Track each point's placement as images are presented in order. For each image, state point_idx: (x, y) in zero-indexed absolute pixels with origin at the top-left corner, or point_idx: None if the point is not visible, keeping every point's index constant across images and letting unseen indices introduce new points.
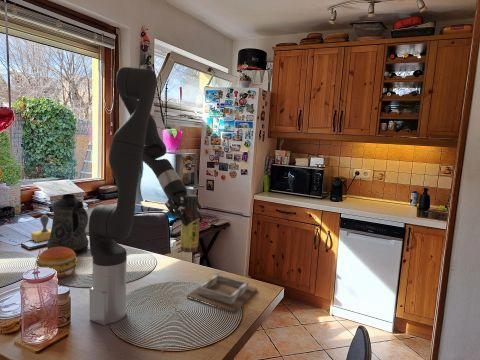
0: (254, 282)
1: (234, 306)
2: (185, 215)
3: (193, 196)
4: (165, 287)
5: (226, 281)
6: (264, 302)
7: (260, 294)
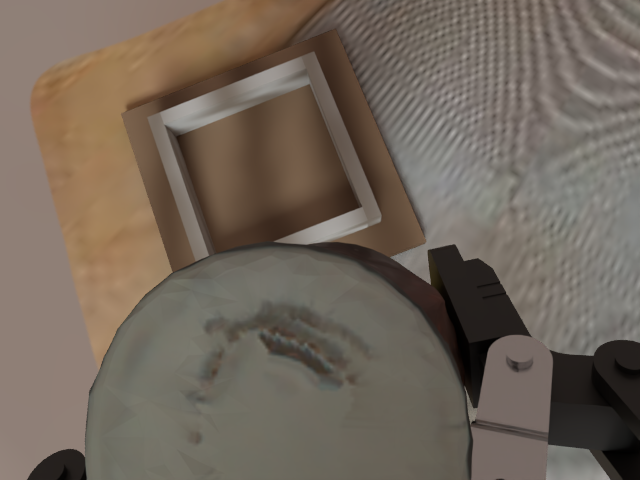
0: (70, 186)
1: (314, 50)
2: (467, 322)
3: (327, 261)
4: None
5: (201, 219)
6: (178, 32)
7: (139, 87)
